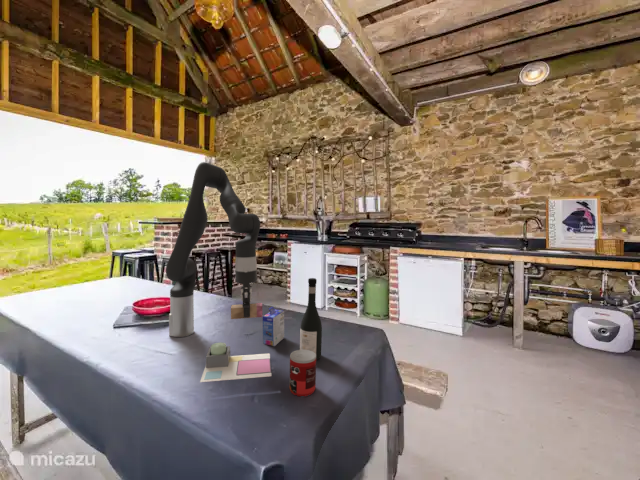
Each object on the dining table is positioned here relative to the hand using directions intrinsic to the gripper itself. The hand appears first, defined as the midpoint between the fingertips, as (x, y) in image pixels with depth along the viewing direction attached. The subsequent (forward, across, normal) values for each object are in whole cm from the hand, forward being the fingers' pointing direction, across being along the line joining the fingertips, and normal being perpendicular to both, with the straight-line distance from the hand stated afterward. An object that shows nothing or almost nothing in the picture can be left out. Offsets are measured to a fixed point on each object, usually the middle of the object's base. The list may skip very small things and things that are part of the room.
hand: (247, 314), depth 107 cm
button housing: (+15, +3, -10) cm, 19 cm away
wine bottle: (+17, +3, +23) cm, 29 cm away
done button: (+13, +3, -10) cm, 17 cm away
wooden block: (+1, 0, 0) cm, 1 cm away
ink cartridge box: (+17, -13, +10) cm, 23 cm away
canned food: (+17, +23, +17) cm, 33 cm away
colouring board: (+16, +7, -3) cm, 18 cm away
